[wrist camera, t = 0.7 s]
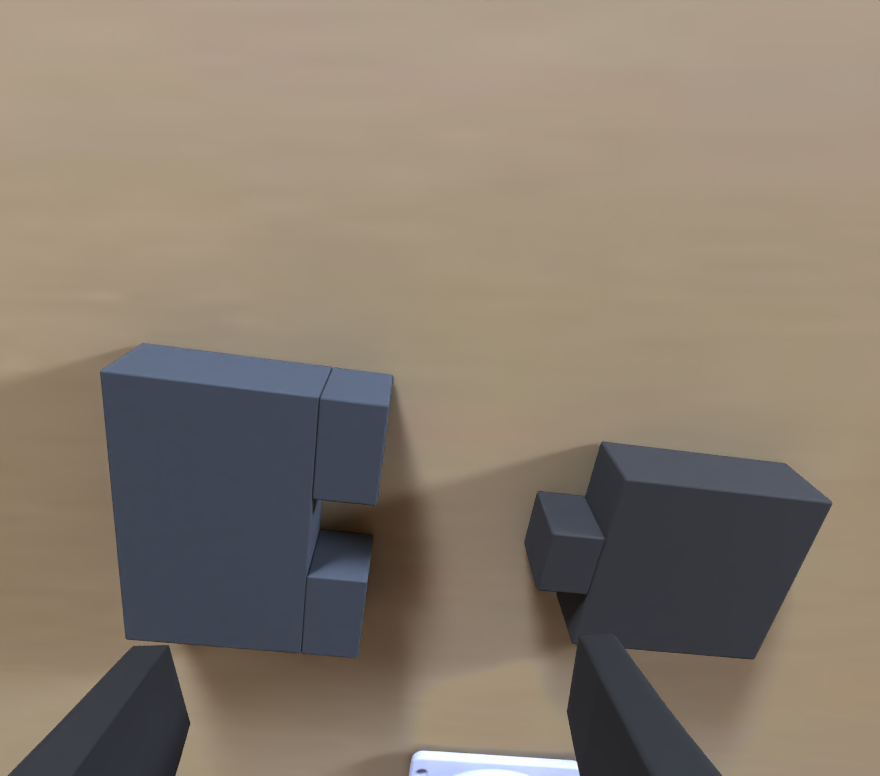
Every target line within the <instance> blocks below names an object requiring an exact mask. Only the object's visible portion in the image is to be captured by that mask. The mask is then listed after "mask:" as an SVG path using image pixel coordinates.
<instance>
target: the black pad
mask: <svg viewBox="0 0 880 776" xmlns="http://www.w3.org/2000/svg"><path fill="white" fill-rule="evenodd" d="M831 506H832V501H830V500H829V499H828V498H827V497H826V496H824V495H823V494H822V493H821V492H820V491H818V490H817V489H816V488H815V487H813V486H812V485H811V484H810V483H809V482H807V481H806V480H805V479H804V478H803V477H801V476H800V475H799V474H798V473H796V472H795V471H794V470H793V469H792V468H790V467H789V466H788V465H787V464H785V463H777V462H768V461H760V460H751V459H743V458H735V457H726V456H718V455H710V454H701V453H693V452H684V451H676V450H668V449H659V448H651V447H643V446H634V445H626V444H618V443H609V442H602V443H601V445H600V449H599V452H598V455H597V459H596V462H595V466H594V469H593V472H592V476H591V479H590V483H589V486H588V489H587V493H586V496H585V497H584V496H578V495H569V494H560V493H550V492H541V491H538V492H537V495H536V499H535V503H534V507H533V511H532V515H531V519H530V523H529V527H528V531H527V534H526V538H525V542H524V543H525V547H526V551H527V554H528V558H529V562H530V565H531V569H532V573H533V576H534V580H535V584H536V587H537V589H538V590H544V591H554V592H557V597H558V600H559V603H560V606H561V610H562V613H563V616H564V619H565V622H566V626H567V629H568V632H569V635H570V638H571V641H572V643H573V644H578V638H579V635H592V634H613V635H614V636H615V637H616V638H618V640H619V641H620V643H621V644H622V645H623V647H624V648H625V649H636V650H648V651H660V652H671V653H683V654H695V655H706V656H718V657H730V658H742V659H754V658H755V657H756V655H757V653H758V651H759V649H760V647H761V645H762V643H763V641H764V639H765V637H766V635H767V633H768V631H769V629H770V627H771V625H772V623H773V621H774V619H775V617H776V615H777V613H778V611H779V609H780V607H781V605H782V603H783V601H784V599H785V597H786V595H787V593H788V591H789V589H790V587H791V585H792V583H793V581H794V579H795V577H796V575H797V573H798V571H799V569H800V567H801V565H802V563H803V561H804V559H805V557H806V555H807V553H808V551H809V549H810V547H811V545H812V543H813V541H814V539H815V537H816V535H817V533H818V531H819V529H820V527H821V525H822V523H823V521H824V519H825V518H826V516H827V514H828V512H829V510H830V508H831Z"/></svg>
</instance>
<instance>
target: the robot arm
mask: <svg viewBox="0 0 880 776" xmlns="http://www.w3.org/2000/svg"><path fill="white" fill-rule="evenodd" d="M567 714H568V719H569V725H570V730H571V735H572V741H573V746H574V751H575V756H576V761H573V760H560V759H545V758H530V757H515V756H500V755H485V754H470V753H455V752H440V751H418V752H416V753H415V754H414V755H413V756H412V760H411V765H410V770H409V775H408V776H722V775H721V774H720V772H719V771H718V770H717V769H716V768H715V766H714V765H713V764H712V763H711V761H710V760H709V759H708V758H707V756H706V755H705V754H704V753H703V751H702V750H701V749H700V748H699V746H698V745H697V744H696V743H695V741H694V740H693V739H692V738H691V736H690V735H689V734H688V733H687V732H686V730H685V729H684V728H683V726H682V725H681V724H680V723H679V721H678V720H677V719H676V717H675V716H674V715H673V714H672V712H671V711H670V710H669V708H668V707H667V706H666V704H665V703H664V702H663V700H662V699H661V698H660V696H659V695H658V694H657V692H656V691H655V690H654V688H653V687H652V686H651V684H650V683H649V682H648V680H647V679H646V678H645V676H644V675H643V673H642V672H641V671H640V669H639V668H638V666H637V665H636V664H635V662H634V661H633V660H632V658H631V657H630V655H629V654H628V653H627V651H626V650H625V648H624V647H623V645H622V644H621V643H620V641H619V640H618V638H616V637H615V636H614V635H613V634H592V635H579V638H578V644H577V651H576V657H575V664H574V670H573V677H572V683H571V689H570V696H569V702H568V709H567ZM189 726H190V721H189V717H188V713H187V710H186V706H185V703H184V699H183V695H182V692H181V688H180V684H179V681H178V677H177V673H176V670H175V666H174V662H173V659H172V655H171V651H170V648H169V645H159V646H133V647H132V648H131V649H130V650H129V651H128V652H127V653H126V654H125V655H124V656H123V657H122V658H121V659H120V660H119V661H118V662H117V663H116V664H115V665H114V666H113V667H112V668H111V669H110V670H109V671H108V672H107V673H106V674H105V676H104V677H103V678H102V679H101V680H100V681H99V682H98V683H97V684H96V685H95V686H94V687H93V688H92V689H91V690H90V691H89V692H88V693H87V695H86V696H85V697H84V698H83V699H82V700H81V701H80V702H79V703H78V704H77V705H76V706H75V707H74V708H73V709H72V710H71V711H70V712H69V713H68V714H67V715H66V717H65V718H64V719H63V720H62V721H61V722H60V723H59V724H58V725H57V726H56V727H55V728H54V729H53V730H52V731H51V732H50V733H49V734H48V735H47V736H46V737H45V738H44V739H43V740H42V741H41V742H40V743H39V744H38V745H37V746H36V747H35V748H34V749H33V750H32V751H31V752H30V753H29V754H28V755H27V757H26V758H25V759H24V760H23V761H22V762H21V763H20V764H19V765H18V766H17V767H16V768H15V769H14V770H13V771H12V772H11V773H10V774H9V775H8V776H175V775H176V771H177V768H178V765H179V762H180V758H181V755H182V751H183V747H184V744H185V740H186V737H187V733H188V729H189Z"/></svg>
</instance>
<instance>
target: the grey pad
mask: <svg viewBox="0 0 880 776" xmlns="http://www.w3.org/2000/svg"><path fill="white" fill-rule="evenodd" d="M100 375H101V385H102V396H103V406H104V417H105V427H106V438H107V448H108V459H109V469H110V480H111V490H112V501H113V511H114V522H115V532H116V543H117V553H118V564H119V574H120V585H121V595H122V606H123V616H124V627H125V637H126V639H128V640H140V641H153V642H165V643H178V644H190V645H203V646H215V647H227V648H240V649H252V650H265V651H277V652H290V653H301V652H302V654H313V655H325V656H338V657H350V658H358V655H359V647H360V639H361V631H362V623H363V616H364V608H365V600H366V592H367V584H368V576H369V568H370V560H371V552H372V544H373V535H367V534H357V533H347V532H337V531H327V530H320V518H321V505H322V500H325V501H334V502H344V503H353V504H363V505H372V506H375V505H377V503H378V495H379V487H380V479H381V471H382V463H383V455H384V447H385V439H386V431H387V423H388V415H389V407H390V399H391V391H392V383H393V376H392V375H388V374H380V373H373V372H365V371H357V370H349V369H341V368H333V369H332V367H327V366H319V365H311V364H303V363H295V362H287V361H279V360H271V359H263V358H255V357H248V356H240V355H232V354H224V353H216V352H208V351H200V350H192V349H184V348H176V347H168V346H161V345H153V344H145V343H143V344H141V345H139V346H138V347H136V348H135V349H133V350H131V351H130V352H128V353H127V354H125V355H124V356H122V357H121V358H119V359H118V360H116V361H115V362H113V363H111V364H110V365H108V366H107V367H105V368H104V369H102V370H101V372H100Z"/></svg>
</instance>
